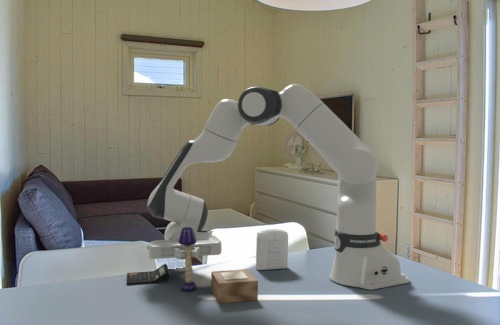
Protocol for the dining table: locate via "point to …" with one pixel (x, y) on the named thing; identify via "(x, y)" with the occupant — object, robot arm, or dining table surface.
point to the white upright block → (272, 249)
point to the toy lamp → (188, 257)
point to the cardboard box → (234, 286)
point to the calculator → (148, 276)
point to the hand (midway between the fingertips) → (188, 255)
